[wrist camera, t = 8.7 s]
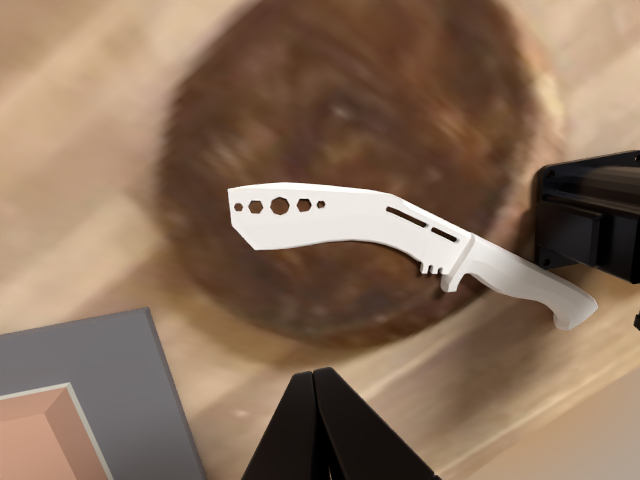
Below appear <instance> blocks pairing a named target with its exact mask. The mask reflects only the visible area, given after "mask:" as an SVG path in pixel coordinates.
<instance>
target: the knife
mask: <svg viewBox="0 0 640 480" xmlns="http://www.w3.org/2000/svg"><path fill="white" fill-rule="evenodd" d="M228 196H229V204H230V211H231V221H232V226H233V227H234V228H235V229H236V230H237V231H238V232H239V233H240V235H241V236H242V237H243V238H244V239H245V240H246V241H247V242H248V243H249V244H250V245H251V246H252V247H253V248H254V249H255V250H272V249H285V248H294V247H301V246H307V245H313V244H319V243H324V242H334V241H347V240H355V241H367V242H375V243H379V244H384V245H387V246H390V247H393V248H396V249H398V250H400V251H402V252H404V253H406V254H408V255H410V256H411V257H413V258H414V259H415V260H417V261H420V262H421V268H420V272H421V273H427V271H428V267H429V266H430V265H431V268H430V272H431V273H432V274H437V272H438V269H439V268H440V271H439V272H440V273H441V274H443V275H442V277H441V286H440V287H441V289H442V290H443V291H444V292H453V291H456V289H457V286H458V284H459V282H460V280H461V279H462V277H463V275H464V274H466V273H468V274H471V275H472V276H473V277H475V278H476V279H477V280H479V281H480V282H481V283H483V284H484V285H486V286H488V287H489V288H491V289H492V290H494V291H496V292H497V293H501V294H504V295H508V296H511V297H516V298H522V299H529V300H535V301H538V302H541V303H543V304H545V305H546V306H547V307H549V308H550V309H551V310H552V311H553V312H554V315H553V320H554V324H555V326H556V328H557V329H560V330H564V331H570V330H571V329H573V328H574V327H576V326H578V325H579V324H580V323H582V322H583V321H585V320H586V319H587V318H588V317H589V316H590V315H591V314H593V313H594V312H595V311H596V310H597V309H598V305H597V303H596V301H595V300H594V299H593V298H592V297H591V296H590V295H589V294H588V293H586V292H585V291H584V290H582V289H581V288H579V287H578V286H576V285H574V284H573V283H571V282H569V281H567V280H565V279H563V278H561V277H559V276H557V275H555V274H553V273H551V272H549V271H547V270H545V269H542V268H540V267H539V266H537V265H535V264H533V263H531V262H529V261H527V260H525V259H523V258H521V257H519V256H517V255H515V254H513V253H511V252H509V251H507V250H505V249H503V248H501V247H499V246H497V245H495V244H493V243H491V242H489V241H487V240H484V239H482V238H480V237H479V236H477V235H475V234H473V233H470V232H467V231H465V230H463V229H461V228H459V227H457V226H455V225H453V224H451V223H449V222H447V221H445V220H443V219H441V218H439V217H437V216H435V215H433V214H431V213H429V212H427V211H425V210H423V209H421V208H419V207H417V206H415V205H413V204H411V203H409V202H407V201H405V200H403V199H401V198H399V197H397V196H395V195H392V194H388V193H383V192H377V191H372V190H366V189H356V188H346V187H337V186H327V185H316V184H302V183H269V184H259V185H249V186H242V187H236V188H231V189H228ZM278 197H282V198H285V199H287V201H288V203H289V205H290V207H289V210H288V212H287V213H285V214H283V215H281V216H280V215H277V214H274V213H273V212H272V210H271V209H270V205H271V201H272V200H273V199H276V198H278ZM299 199H309V200H310V202H311V204H312V206H311V208H310V210H309V211H306V212H299V210H298V208H297V206H296V205H297V203H298V201H299ZM253 200H255V201H261V203H262V205H263V209H262V211H261V212H260V214H251V212H250V210H249V208H248V206H249V205H250V203H251V202H252V201H253ZM318 201H324V202H325V206H324V208H320V209H319V205H318ZM235 203H241V204H242V205H243V209H242V211H241V212H236V211H235V209H234V205H235ZM388 206H389V207H392V208H395V209H397V210H399V211H401V212H404V213H406V214H408V215H410V216H412V217H414V218H416V219H418V220H420V221H423V222H425V223H427V224H426V227H424V228H423V227H421V226H418V225H416V224H414V223H412V222H410V221H408V220H406V219H404V218H402V217H399V216H397V215H395V214H393V213H390V212H387V211H386V208H387V207H388ZM432 227H435V228H437V229H439V230H441V231H443V232H446V233H448V234H450V235H452V236H454V237H456V238H457V241H455V242H452V241H450V240H448V239H446V238H444V237H442V236H440V235H438V234H436V233H433V232H431V229H432Z"/></svg>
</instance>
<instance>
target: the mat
mask: <svg viewBox="0 0 640 480" xmlns="http://www.w3.org/2000/svg"><path fill="white" fill-rule="evenodd" d="M68 382H70V383H71V386H72V388H73V390H74V392H75V395H76V397H77V399H78V401H79V403H80V406H81V408H82V410H83V412H84V415H85V417H86V419H87V421H88V423H89V426H90V428H91V430H92V432H93V435H94V437H95V439H96V441H97V443H98V446H99V448H100V450H101V452H102V455H103V457H104V459H105V461H106V463H107V466H108V468H109V470H110V472H111V475H112V477H113V479H114V480H207V478H206V475H205V472H204V469H203V466H202V463H201V460H200V457H199V455H198V452H197V449H196V446H195V443H194V440H193V437H192V434H191V431H190V428H189V425H188V422H187V419H186V416H185V413H184V410H183V407H182V404H181V401H180V399H179V396H178V393H177V390H176V387H175V384H174V381H173V378H172V375H171V372H170V369H169V366H168V363H167V360H166V357H165V354H164V351H163V348H162V346H161V343H160V340H159V337H158V334H157V331H156V328H155V325H154V322H153V319H152V316H151V313H150V310H149V307H146V308H141V309H136V310H130V311H125V312H120V313H115V314H109V315H104V316H99V317H93V318H88V319H83V320H77V321H72V322H67V323H61V324H56V325H51V326H45V327H40V328H35V329H30V330H24V331H19V332H14V333H8V334H3V335H0V396H3V395H8V394H13V393H18V392H23V391H28V390H33V389H38V388H43V387H48V386H53V385H58V384H63V383H68Z"/></svg>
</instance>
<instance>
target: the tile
mask: <svg viewBox="0 0 640 480" xmlns="http://www.w3.org/2000/svg"><path fill="white" fill-rule="evenodd" d="M0 480H114V479H113V477H112V475H111V472H110V470H109V468H108V466H107V463H106V461H105V459H104V457H103V455H102V452H101V450H100V448H99V446H98V443H97V441H96V439H95V437H94V435H93V432H92V430H91V428H90V426H89V423H88V421H87V419H86V417H85V415H84V412H83V410H82V408H81V406H80V403H79V401H78V399H77V397H76V395H75V392H74V390H73V388H72V386H71V383H70V382H68V383H63V384H58V385H53V386H48V387H43V388H38V389H33V390H28V391H23V392H18V393H13V394H8V395H3V396H0Z"/></svg>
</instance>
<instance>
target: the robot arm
mask: <svg viewBox="0 0 640 480" xmlns="http://www.w3.org/2000/svg"><path fill="white" fill-rule="evenodd" d="M635 158H636V160H635ZM549 171H550V175H549V177H547V173H548V172H549ZM545 259H546V261H545V262H544V263H543V261H544V260H545ZM578 263H581V264H583V265H586V266H588V267H590V268H596V269H598V270H601V271H603V272H605V273H608V274H610V275H612V276H615V277H617V278H620V279H622V280H624V281H627V282H629V283H631V284H639V285H640V150H631V151H625V152H619V153H614V154H608V155H602V156H596V157H591V158H585V159H579V160H574V161H568V162H562V163H556V164H551V165H546V166H543V167H542V168H541V169H540V171H539V173H538V190H537V210H536V236H535V265H537V266H539V267H540V268H542V269H545V270H547V269H552V268H557V267H562V266H567V265H573V264H578ZM634 326H635V327H636V328H637V329H638V330H639V331H640V311H639V314H637V315H636V317H635V321H634ZM329 469H330V470H329ZM330 474H331V477H330ZM331 479H332V480H442V479H441V478H440V477H439V476H438V475H434V472H433V470H432V469H431V468H430V467H429V466H428V465H427V464H426V463H425V462H424V461H423V460H422V459H421V458H420V457H419V456H418V455H417V454H416V453H415V452H414V451H413V450H412V449H411V448H410V447H409V446H408V445H407V444H406V443H405V442H404V441H403V440H402V439H401V438H400V437H399V436H398V435H397V434H396V433H395V432H394V431H393V430H392V429H391V428H390V426H389V425H388V424H387V423H386V422H385V421H384V420H383V419H382V418H381V417H380V416H379V415H378V414H377V413H376V412H375V411H374V410H373V409H372V408H371V407H370V406H369V405H368V404H367V403H366V402H365V401H364V400H363V399H362V398H361V397H360V396H359V395H358V394H357V393H356V392H355V391H354V390H353V389H352V388H351V387H350V386H349V385H348V384H347V383H346V382H345V381H344V380H343V378H342V377H341V376H340V375H339V374H338V373H337V372H336V371H335V370H334V369H333V368H331V367H326V368H321V369H317V370H314V371H313V373H312V372H311V371H307V372H302V373H297V374H294V375H293V376H292V378H291V380H290V382H289V384H288V386H287V388H286V390H285V392H284V394H283V397H282V399H281V401H280V403H279V405H278V407H277V409H276V411H275V413H274V415H273V417H272V419H271V421H270V423H269V425H268V427H267V429H266V431H265V433H264V435H263V437H262V439H261V441H260V443H259V445H258V447H257V449H256V451H255V453H254V455H253V457H252V459H251V461H250V463H249V465H248V467H247V469H246V471H245V473H244V475H243V477H242V479H241V480H331Z"/></svg>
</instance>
